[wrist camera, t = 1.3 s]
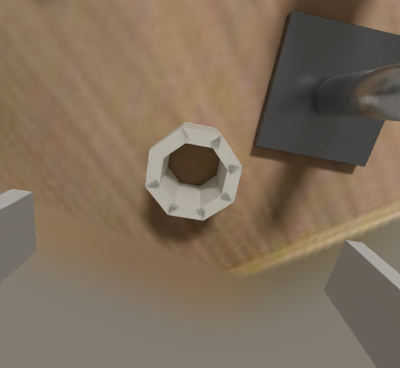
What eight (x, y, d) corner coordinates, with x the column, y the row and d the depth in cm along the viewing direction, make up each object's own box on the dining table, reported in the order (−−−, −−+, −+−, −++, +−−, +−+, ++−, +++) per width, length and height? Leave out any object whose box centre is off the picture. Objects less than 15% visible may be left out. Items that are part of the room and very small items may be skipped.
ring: (154, 188, 27) (142, 210, 21) (163, 117, 24) (152, 121, 18) (221, 199, 27) (227, 224, 21) (237, 131, 25) (249, 139, 19)
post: (253, 144, 25) (326, 195, 11) (287, 15, 21) (465, -161, 7) (357, 163, 26) (548, 234, 12) (407, 43, 22) (778, -65, 8)
